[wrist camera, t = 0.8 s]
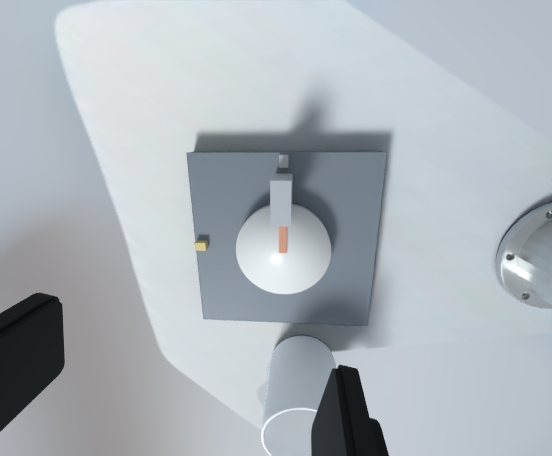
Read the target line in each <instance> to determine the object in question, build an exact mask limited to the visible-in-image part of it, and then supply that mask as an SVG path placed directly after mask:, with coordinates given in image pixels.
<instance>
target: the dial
mask: <svg viewBox="0 0 552 456" xmlns="http://www.w3.org/2000/svg"><path fill="white" fill-rule="evenodd" d="M292 192H293V173H275V174H274V175H273V177H272V178H271V180H270V204H269V205H266V206H264V207H262V208H260V209H258V210H257V211H255V212H254V213H253V214H252V215H251V216H250V217H249V218H248V219H247V220H246V222H245V223H244V225H243V226H242V228H241V230H240V232H239V234H238V237H237V242H236V257H237V261H238V264H239V266H240V268H241V270H242V272H243V273H244V275H245V276H246V277H247V278H248V279H249V280H250V281H251V282H252V283H253V284H254V285H256V286H258V287H259V288H261V289H263V290H265V291H268V292H271V293H276V294H293V293H298V292H301V291H304V290H306V289H308V288H310V287H311V286H313V285H314V284H316V283H317V282H318V281H319V280H320V279H321V278H322V276H323V275H324V274H325V272H326V270H327V268H328V266H329V263H330V259H331V243H330V239H329V236H328V233H327V230H326V228H325V226H324V224H323V223H322V221H321V220H320V219H319V218H318V217H317V216H316V215H315V214H314V213H313V212H312V211H310V210H309V209H307V208H305V207H303V206H300V205H297V204H293V203H292Z"/></svg>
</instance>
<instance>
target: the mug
mask: <svg viewBox="0 0 552 456" xmlns="http://www.w3.org/2000/svg"><path fill="white" fill-rule="evenodd" d="M333 368H336V366H335V361H334V358H333V355H332V353H331V351H330V350H329V348H328V347H327V346H326V345H325V344H324V343H323V342H321V341H320V340H318V339H316V338H313V337H309V336H294V337H290V338H287V339H285V340H284V341H282V342H281V343H280V344H278V346H277V347H276V348H275V349H274V351H273V353H272V356H271V360H270V366H269V374H268V382H267V390H266V398H265V406H264V414H263V422H262V430H261V440H262V444H263V446H264V448H265V450H266V451H267V453H268V454H269V455H270V456H311V429H312V424H313V421H314V419H315V416H316V413H317V410H318V407H319V404H320V402H321V399H322V396H323V393H324V390H325V387H326V385H327V382H328V379H329V376H330V373H331V370H332V369H333Z"/></svg>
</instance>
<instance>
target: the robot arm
mask: <svg viewBox="0 0 552 456" xmlns="http://www.w3.org/2000/svg"><path fill="white" fill-rule="evenodd" d="M496 272H497V276H498V279H499V281H500V283H501V285H502V286H503V287H504V289H505V290H506V291H507V292H508V293H509V294H511V295H512V296H513V297H514V298H516V299H517V300H519V301H520V302H522V303H525V304H527V305H530V306H533V307H538V308H549V309H552V202H551V203H548V204H545V205H543V206H541V207H538V208H536V209H534V210H532V211H531V212H529V213H528V214H527V215H525V216H524V217H522V218H521V219H520V220H519V221H518V222H517V223H516V224H514V225H513V226H512V228H511V229H510V230H509V231H508V233H507V234H506V235H505V237H504V239H503V240H502V242H501V244H500V246H499V249H498V253H497V256H496ZM62 313H63V312H62V304H61V303H60V302H59V299H58V297H55V296H51V295H47V294H43V293H35V294H33V295H31V296H30V297H28V298H26V299H24V300H23V301H21V302H19V303H17V304H16V305H14V306H12V307H11V308H9V309H7V310H5V311H4V312H2V313H1V314H0V431H1V430H3V429H4V428H5V427H6V426H7V425H8V424H9V423H10V422H11V421H12V420H13V419H14V418H15V417H16V416H17V415H18V414H19V413H20V412H21V411H22V410H23V409H24V408H25V407H26V406H27V405H28V404H29V403H30V402H31V401H32V400H33V399H34V398H36V396H37V395H39V394H40V393H41V392H42V391H43V390H44V389H45V388H46V387H47V386H48V385H49V384H50V383H51V382H52V381H53V380H54V379H55V378H56V377H57V376H58V375H59V374H60V373H61V371H62V369H63V367H64V363H65V362H64V361H65V360H64V337H63V314H62ZM311 456H389V455H388V451H387V447H386V444H385V440H384V437H383V433H382V429H381V427H380V424H379V422H378V421H377V420H375V419H372V418H369V414H368V410H367V406H366V401H365V397H364V393H363V389H362V385H361V381H360V376H359V372H358V370H357V369H356V368H352V367H348V366H343V365H339V366H338V368H337V369H336V368H333V369H332V370H331V373H330V376H329V379H328V382H327V385H326V387H325V390H324V393H323V396H322V399H321V402H320V404H319V407H318V410H317V413H316V416H315V419H314V421H313V424H312V429H311Z"/></svg>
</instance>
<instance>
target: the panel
mask: <svg viewBox="0 0 552 456" xmlns="http://www.w3.org/2000/svg"><path fill="white" fill-rule="evenodd" d="M386 155H387V152H382V151H349V152H189V153H187V163H188V173H189V183H190V193H191V203H192V212H193V222H194V232H195V250H196V252H197V262H198V272H199V282H200V292H201V302H202V312H203V319H212V320H235V321H259V322H283V323H306V324H330V325H353V326H367V325H368V317H369V308H370V299H371V290H372V281H373V272H374V263H375V254H376V245H377V236H378V227H379V218H380V209H381V200H382V191H383V182H384V173H385V164H386ZM275 173H293V192H292V203H293V204H297V205H300V206H303V207H305V208H307V209H309V210H310V211H312V212H313V213H314V214H315V215H316V216H317V217H318V218H319V219H320V220H321V221H322V223H323V224H324V226H325V228H326V230H327V233H328V236H329V239H330V243H331V259H330V263H329V266H328V268H327V270H326V272H325V274H324V275H323V276H322V278H321V279H320V280H319V281H318V282H317V283H316V284H314V285H313V286H311V287H310V288H308V289H306V290H304V291H301V292H298V293H293V294H276V293H271V292H268V291H265V290H263V289H261V288H259V287H258V286H256V285H254V284H253V283H252V282H251V281H250V280H249V279H248V278H247V277H246V276H245V275H244V273H243V272H242V270H241V268H240V266H239V264H238V261H237V257H236V242H237V237H238V234H239V232H240V230H241V228H242V226H243V225H244V223H245V222H246V220H247V219H248V218H249V217H250V216H251V215H252V214H253V213H254V212H255V211H257V210H258V209H260V208H262V207H264V206H266V205H269V204H270V180H271V178H272V177H273V175H274V174H275Z"/></svg>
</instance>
